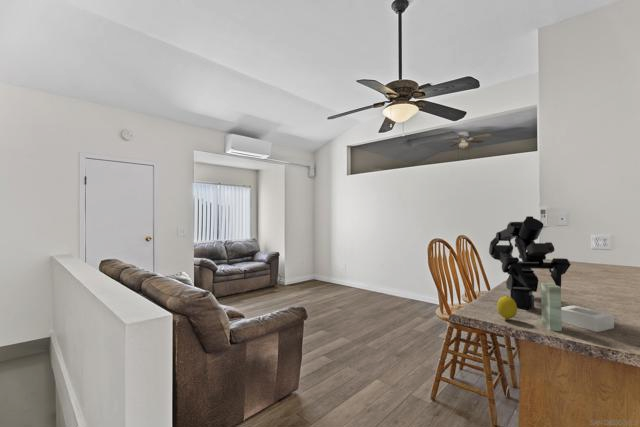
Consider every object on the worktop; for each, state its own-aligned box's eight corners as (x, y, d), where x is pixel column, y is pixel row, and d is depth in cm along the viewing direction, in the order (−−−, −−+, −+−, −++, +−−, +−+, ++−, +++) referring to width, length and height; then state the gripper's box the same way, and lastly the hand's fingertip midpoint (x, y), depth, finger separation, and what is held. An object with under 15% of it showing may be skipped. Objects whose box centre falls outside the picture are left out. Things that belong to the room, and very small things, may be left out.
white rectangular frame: (557, 320, 97) (556, 308, 97) (573, 317, 100) (573, 305, 100) (597, 332, 87) (596, 318, 87) (613, 327, 90) (613, 314, 90)
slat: (541, 324, 94) (541, 283, 94) (552, 325, 93) (552, 283, 93) (550, 330, 89) (549, 286, 89) (561, 331, 88) (560, 287, 88)
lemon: (494, 317, 101) (493, 293, 101) (510, 317, 101) (510, 293, 101) (503, 322, 95) (503, 297, 96) (521, 322, 95) (520, 297, 95)
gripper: (503, 233, 103) (517, 271, 92) (566, 234, 99) (588, 273, 88) (496, 253, 111) (508, 290, 100) (554, 255, 106) (573, 293, 96)
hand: (543, 287), depth 96 cm, fingers open, 9 cm apart
